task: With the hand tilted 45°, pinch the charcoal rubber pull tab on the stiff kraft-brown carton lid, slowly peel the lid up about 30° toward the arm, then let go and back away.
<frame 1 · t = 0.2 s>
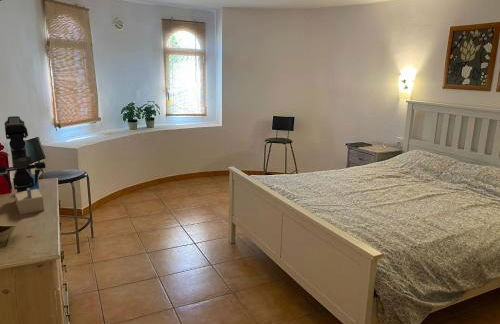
hand: (23, 187, 165), 16 cm above the dresser top, tool pointing down, fingers open, 9 cm apart
perfume bottle: (30, 189, 211), on the dresser top
carton: (30, 208, 184), on the dresser top
carton lid: (27, 191, 181), point 9 cm above the dresser top, hinge at 0.0°
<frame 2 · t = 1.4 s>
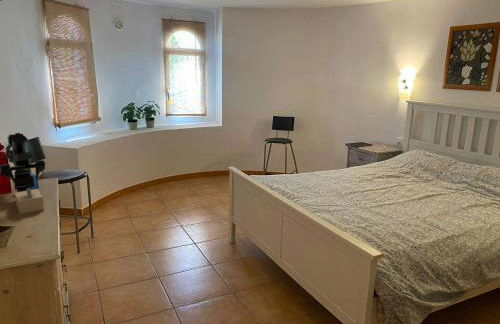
hand: (26, 182, 180), 13 cm above the dresser top, tool tilted 45°, fingers open, 9 cm apart
nothing on the dresser top moved.
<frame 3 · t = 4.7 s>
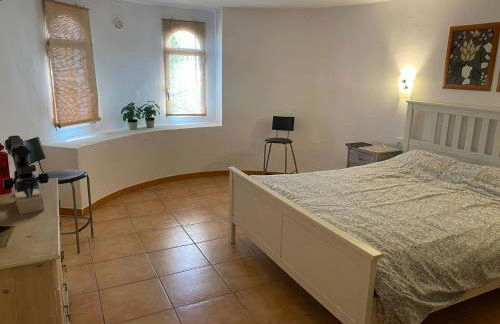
hand: (29, 196, 177), 8 cm above the dresser top, tool tilted 45°, fingers closed on carton lid
carton lid: (27, 191, 181), point 9 cm above the dresser top, hinge at 0.0°, touching gripper
everything else where it was.
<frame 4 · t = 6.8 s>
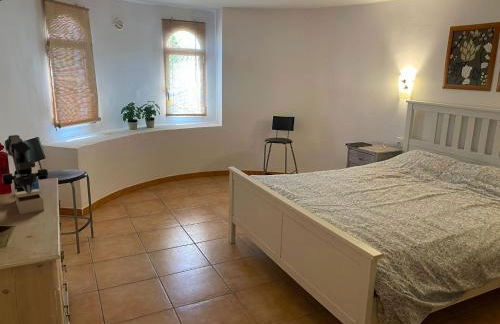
hand: (29, 191, 177), 10 cm above the dresser top, tool tilted 45°, fingers closed on carton lid
carton lid: (27, 189, 181), point 10 cm above the dresser top, hinge at 8.7°, touching gripper
everything else where it was.
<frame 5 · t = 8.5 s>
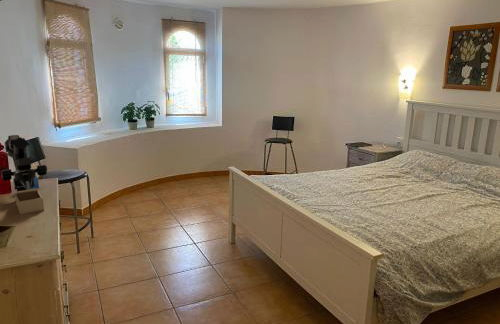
hand: (28, 187, 177), 12 cm above the dresser top, tool tilted 45°, fingers closed on carton lid
carton lid: (27, 186, 182), point 11 cm above the dresser top, hinge at 17.6°, touching gripper
everything else where it was.
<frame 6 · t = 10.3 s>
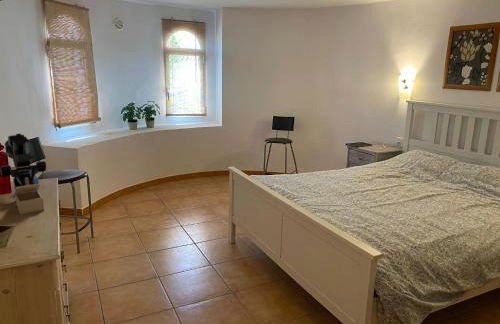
hand: (27, 183, 178), 13 cm above the dresser top, tool tilted 45°, fingers open, 4 cm apart
carton lid: (26, 184, 182), point 12 cm above the dresser top, hinge at 26.4°
everything else where it was.
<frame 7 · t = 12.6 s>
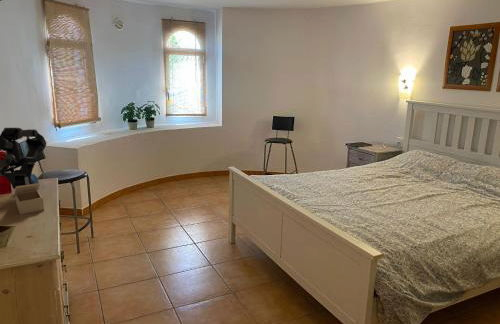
hand: (21, 182, 182), 12 cm above the dresser top, tool tilted 25°, fingers open, 9 cm apart
carton lid: (26, 184, 182), point 12 cm above the dresser top, hinge at 27.3°, touching gripper
everything else where it was.
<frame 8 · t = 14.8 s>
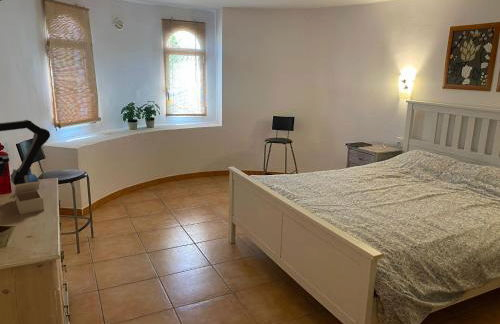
carton lid: (26, 183, 182), point 12 cm above the dresser top, hinge at 30.9°
everything else where it was.
at the end: carton lid at +31° (first picture: +0°); the gripper is holding nothing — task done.
